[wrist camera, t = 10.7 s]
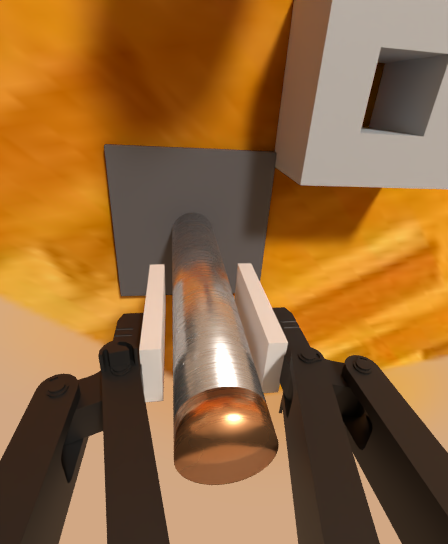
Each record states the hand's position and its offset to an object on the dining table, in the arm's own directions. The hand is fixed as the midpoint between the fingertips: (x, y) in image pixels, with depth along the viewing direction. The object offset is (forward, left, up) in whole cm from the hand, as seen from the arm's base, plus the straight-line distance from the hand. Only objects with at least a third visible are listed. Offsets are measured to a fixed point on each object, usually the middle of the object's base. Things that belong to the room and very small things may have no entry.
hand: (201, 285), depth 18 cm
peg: (0, 0, -8) cm, 8 cm away
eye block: (+11, +10, -9) cm, 17 cm away
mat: (0, 0, -9) cm, 9 cm away
